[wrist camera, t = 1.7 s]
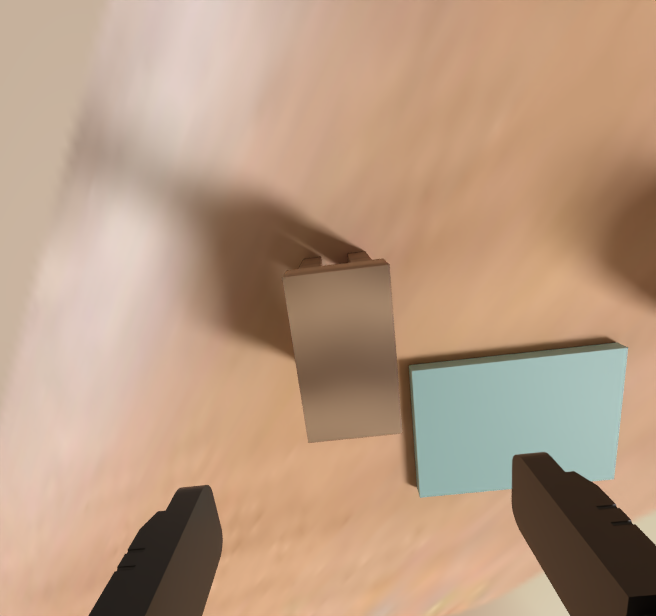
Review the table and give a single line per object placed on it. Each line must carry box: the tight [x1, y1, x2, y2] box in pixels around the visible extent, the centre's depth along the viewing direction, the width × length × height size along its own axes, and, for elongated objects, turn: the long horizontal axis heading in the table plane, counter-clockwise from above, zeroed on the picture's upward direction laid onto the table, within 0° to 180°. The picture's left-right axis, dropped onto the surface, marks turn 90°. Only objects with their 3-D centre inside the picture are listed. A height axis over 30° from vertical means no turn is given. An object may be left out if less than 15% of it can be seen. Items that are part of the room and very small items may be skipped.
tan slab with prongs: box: [282, 251, 402, 443], centre depth 22 cm, size 9×5×8 cm, turn 7°
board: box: [409, 343, 628, 498], centre depth 27 cm, size 11×15×1 cm
